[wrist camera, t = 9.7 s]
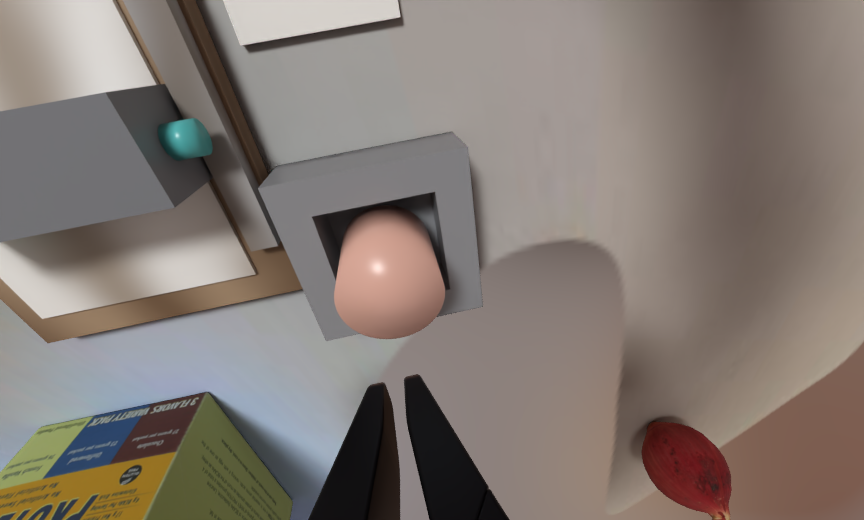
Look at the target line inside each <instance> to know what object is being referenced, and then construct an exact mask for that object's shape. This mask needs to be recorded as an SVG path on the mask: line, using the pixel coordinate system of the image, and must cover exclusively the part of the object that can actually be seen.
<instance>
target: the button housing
mask: <svg viewBox="0 0 864 520" xmlns="http://www.w3.org/2000/svg"><path fill="white" fill-rule="evenodd" d="M258 190H259V192H260V194H261V197H262V199H263V201H264V203H265V206H266V208H267V210H268V212H269V215H270V217H271V219H272V221H273V223H274V226H275V228H276V230H277V232H278V235H279V237H280V239H281V241H282V244H283V246H284V248H285V250H286V253H287V255H288V257H289V259H290V261H291V264H292V266H293V268H294V270H295V273H296V275H297V277H298V279H299V282H300V284H301V286H302V288H303V291H304V293H305V295H306V297H307V300H308V302H309V304H310V306H311V308H312V311H313V313H314V315H315V317H316V320H317V322H318V324H319V326H320V329H321V331H322V333H323V335H324V338H325V340H326V341H329V340H333V339H338V338H343V337H347V336H352V335H356V334H361V333H358V332H356V331H355V330H353V329H352V328H350V327H349V326H348V325H347V324H346V323H345V322H344V321H343V320H342V319H341V317H340V316H339V314H338V312H337V310H336V307H335V302H334V291H335V284H336V278H337V272H338V266H339V259H340V253H341V247H342V240H343V235H344V232H345V230H346V228H347V226H348V224H349V223H350V222H351V220H352V219H353V218H354V217H355V216H357V215H358V214H359V213H361V212H362V211H364V210H366V209H369V208H371V207H375V206H381V205H392V206H398V207H402V208H404V209H407V210H409V211H411V212H412V213H414V214H415V215H416V216H417V217H418V218H420V220H421V221H422V222H423V223H424V225H425V227H426V229H427V231H428V234H429V237H430V240H431V243H432V247H433V250H434V253H435V256H436V259H437V263H438V266H439V269H440V272H441V275H442V279H443V282H444V286H445V299H444V303H443V306H442V308H441V310H440V312H439V314H438V315H437V316H436V317H438V316H443V315H447V314H452V313H456V312H461V311H465V310H469V309H475V308H479V307H483V302H482V292H481V281H480V270H479V259H478V249H477V238H476V228H475V217H474V207H473V196H472V186H471V175H470V164H469V154H468V147H467V146H466V145H465V144H464V143H463V142H462V141H461V140H460V139H459V138H458V137H457V136H456V135H455V134H454V133H453V132H448V133H443V134H438V135H432V136H427V137H422V138H417V139H412V140H407V141H402V142H396V143H391V144H386V145H381V146H376V147H371V148H366V149H360V150H355V151H350V152H345V153H340V154H335V155H330V156H324V157H319V158H314V159H309V160H304V161H299V162H294V163H289V164H283V165H278V166H276V167H275V169H274V170H273V171H272V172H271V173H270V174H269V176H268V177H267V178H266V179H265V180H264V182H263V183H262V184H261V185H260V186H259V187H258Z"/></svg>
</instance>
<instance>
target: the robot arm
mask: <svg viewBox="0 0 864 520" xmlns="http://www.w3.org/2000/svg"><path fill="white" fill-rule="evenodd" d="M404 386H405V387H404V388H405V404H406V418H407V425H408V430H409V435H410V439H411V443H412V447H413V451H414V456H415V460H416V464H417V469H418V473H419V476H420V481H421V485H422V489H423V494H424V498H425V502H426V506H427V511H428V515H429V519H430V520H509V518H508V517H507V515H506V514H505V512H504V511H503V509H502V508H501V506H500V504H499V503H498V501H497V500H496V498H495V496H494V495H493V494H492V491H491V490H490V489H489V488H488V485H487V484H486V482H485V480H484V479H483V477H482V475H481V474H480V472H479V471H478V469H477V467H476V466H475V464H474V463H473V461H472V459H471V458H470V456H469V454H468V453H467V451H466V449H465V448H464V446H463V445H462V443H461V441H460V440H459V438H458V436H457V435H456V433H455V432H454V430H453V428H452V427H451V425H450V423H449V422H448V420H447V419H446V417H445V415H444V414H443V412H442V411H441V409H440V407H439V406H438V404H437V402H436V401H435V399H434V397H433V396H432V394H431V393H430V391H429V389H428V388H427V386H426V385H425V383H424V381H423V380H422V378H421V377H420V375H418V374H416V375H413V376H408V377H406V378H405V379H404ZM308 520H400V468H399V457H398V449H397V440H396V431H395V423H394V414H393V407H392V402H391V399H390V396H389V393H388V390H387V388H386V385H385V383H383V382H381V383H377V384H372V385H370V386H369V387H368V388H367V390H366V393H365V395H364V397H363V399H362V401H361V404H360V406H359V408H358V410H357V413H356V415H355V417H354V419H353V421H352V424H351V426H350V428H349V430H348V433H347V435H346V437H345V439H344V441H343V444H342V446H341V448H340V450H339V453H338V455H337V457H336V459H335V461H334V464H333V466H332V468H331V470H330V473H329V475H328V477H327V479H326V481H325V484H324V486H323V488H322V490H321V493H320V495H319V497H318V499H317V501H316V504H315V506H314V508H313V510H312V513H311V515H310V517H309V519H308Z"/></svg>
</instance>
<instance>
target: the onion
mask: <svg viewBox="0 0 864 520" xmlns="http://www.w3.org/2000/svg"><path fill="white" fill-rule="evenodd" d="M642 459H643V464H644V467H645V469H646V471H647V473H648V475H649V477H650V479H651V481H652V482H653V483H654V484H655V486H656V487H657V488H658V489H659V490H660V491H661V492H662V493H663V494H664V495H666V496H667V497H668V498H670V499H672V500H673V501H675V502H677V503H678V504H680V505H683V506H685V507H687V508H690V509H693V510H696V511H701V512H705V513H708V514H709V515H710V516H711V517H712V518H713V519H712V520H730V513H729V507H728V503H729V499H730V495H731V474H730V471H729V467H728V465H727V463H726V460H725V458H724V456H723V455H722V454H721V452H720V451H719V450H718V448H717V447H716V446H715V445H714V444H713V443H712V442H711V441H710V440H709V439H707V438H706V437H705V436H704V435H703V434H702V433H700V432H699V431H697V430H695V429H693V428H691V427H689V426H685V425H682V424H677V423H669V422H652V423H650V424H649V425H648V427H647V433H646V437H645V439H644V442H643V447H642Z"/></svg>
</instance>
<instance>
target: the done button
mask: <svg viewBox="0 0 864 520" xmlns="http://www.w3.org/2000/svg"><path fill="white" fill-rule="evenodd" d="M444 299H445V286H444V282H443V279H442V275H441V272H440V269H439V266H438V263H437V259H436V256H435V253H434V250H433V247H432V243H431V240H430V237H429V234H428V231H427V229H426V227H425V225H424V223H423V222H422V221H421V220H420V218H418V217H417V216H416V215H415V214H414V213H412V212H411V211H409V210H407V209H404V208H402V207H398V206H392V205H381V206H375V207H371V208H369V209H366V210H364V211H362V212H361V213H359V214H358V215H357V216H355V217H354V218H353V219H352V220H351V222H350V223H349V224H348V226H347V228H346V230H345V232H344V235H343V240H342V247H341V253H340V259H339V266H338V272H337V278H336V284H335V291H334V302H335V307H336V310H337V312H338V314H339V316H340V317H341V319H342V320H343V321H344V322H345V323H346V324H347V325H348V326H349V327H350V328H352V329H353V330H355V331H356V332H358V333H361V334H363V335H366V336H369V337H373V338H379V339H395V338H401V337H405V336H409V335H411V334H414V333H416V332H418V331H420V330H422V329H423V328H425V327H426V326H427V325H428V324H430V323H431V322H432V321H433V320H434V319H435V318H436V316H437V315H438V314H439V312H440V310H441V308H442V306H443V303H444Z"/></svg>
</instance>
